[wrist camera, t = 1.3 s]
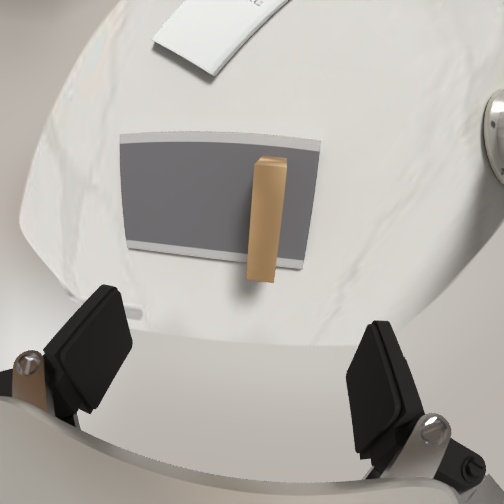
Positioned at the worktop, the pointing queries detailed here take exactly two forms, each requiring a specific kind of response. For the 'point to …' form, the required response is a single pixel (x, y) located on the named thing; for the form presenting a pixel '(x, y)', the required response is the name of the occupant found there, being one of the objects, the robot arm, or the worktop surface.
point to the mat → (211, 192)
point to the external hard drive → (213, 29)
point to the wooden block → (266, 217)
